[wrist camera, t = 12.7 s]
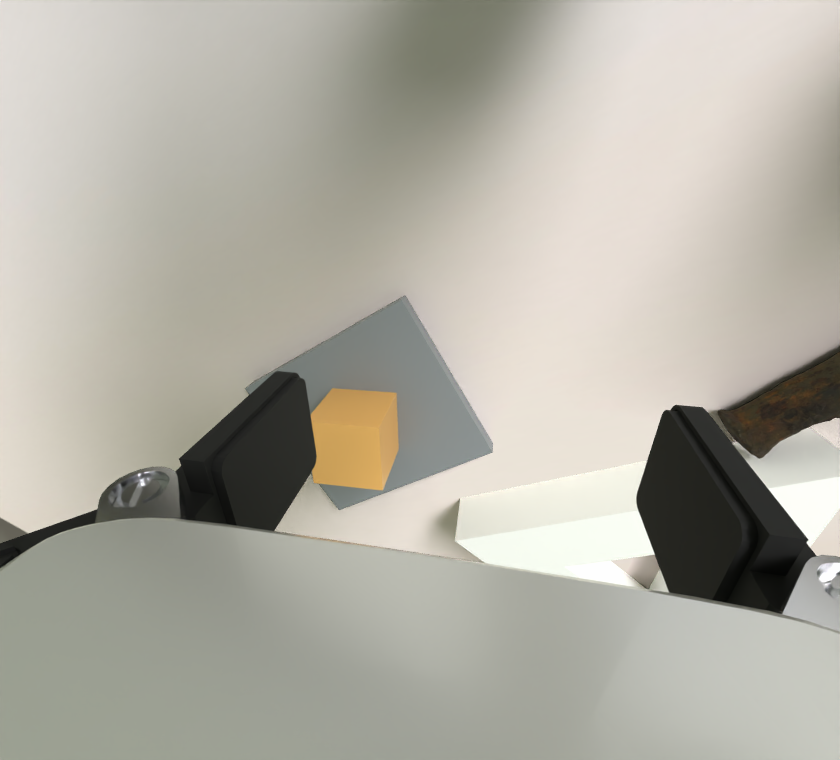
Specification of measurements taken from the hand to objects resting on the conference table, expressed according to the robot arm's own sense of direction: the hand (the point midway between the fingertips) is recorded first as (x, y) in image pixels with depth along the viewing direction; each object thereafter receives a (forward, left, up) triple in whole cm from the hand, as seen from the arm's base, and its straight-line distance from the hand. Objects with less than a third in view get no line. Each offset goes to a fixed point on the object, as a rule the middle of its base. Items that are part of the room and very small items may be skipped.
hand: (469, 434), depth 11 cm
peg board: (+6, -16, -24) cm, 29 cm away
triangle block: (+34, 0, -25) cm, 42 cm away
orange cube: (+6, -16, -22) cm, 28 cm away
